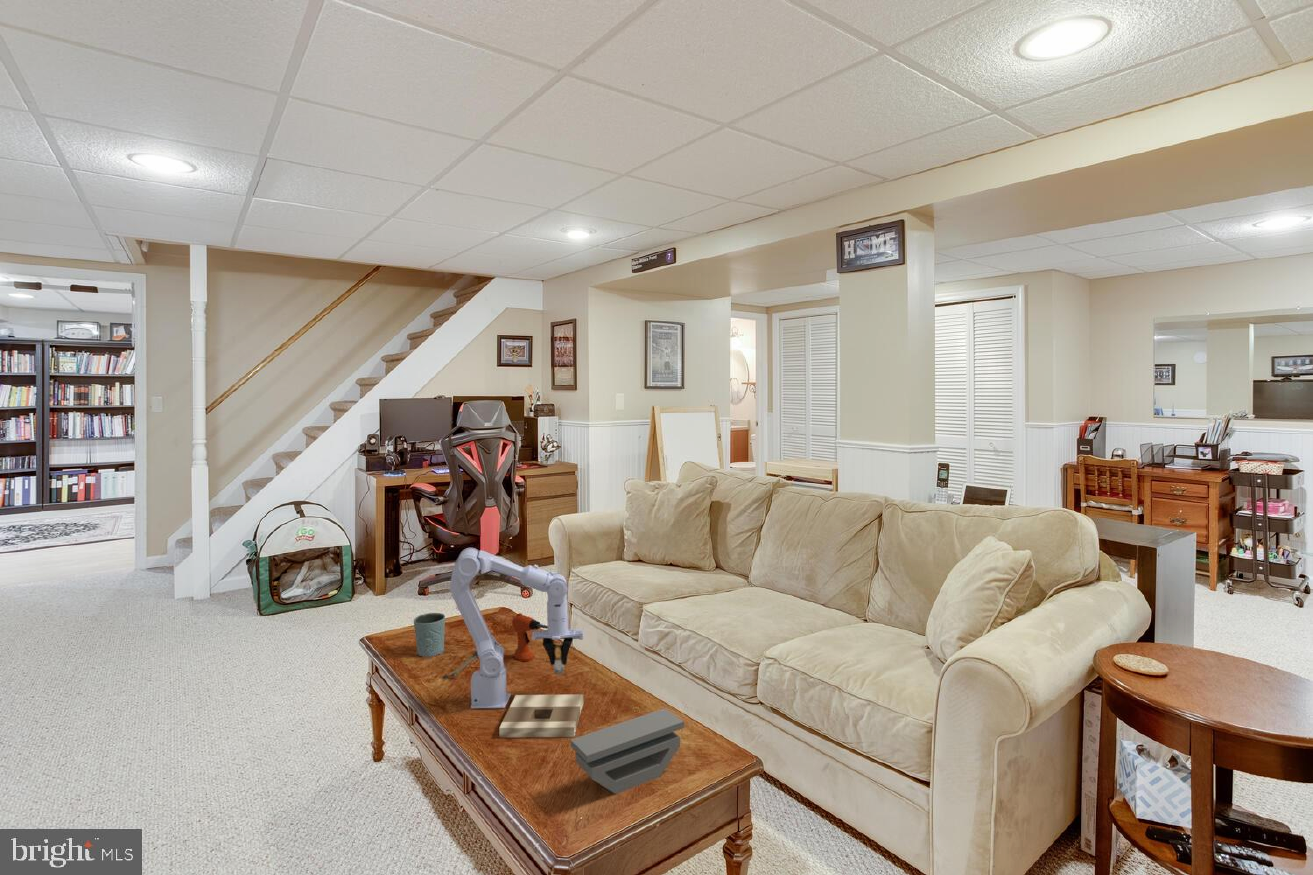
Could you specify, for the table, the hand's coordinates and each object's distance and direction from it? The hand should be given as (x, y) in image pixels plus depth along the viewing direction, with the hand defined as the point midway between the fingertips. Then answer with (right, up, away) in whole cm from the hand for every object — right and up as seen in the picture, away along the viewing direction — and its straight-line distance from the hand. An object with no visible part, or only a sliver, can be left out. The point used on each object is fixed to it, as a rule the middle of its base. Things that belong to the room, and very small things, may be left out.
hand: (558, 663), depth 189 cm
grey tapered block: (+22, -12, -40) cm, 47 cm away
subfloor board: (-2, -10, -13) cm, 17 cm away
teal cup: (-48, -8, +34) cm, 59 cm away
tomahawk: (-32, -9, +23) cm, 41 cm away
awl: (0, -2, 0) cm, 2 cm away
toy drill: (-12, -8, +25) cm, 29 cm away
